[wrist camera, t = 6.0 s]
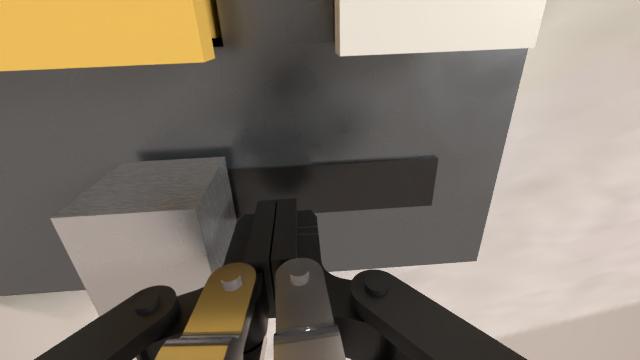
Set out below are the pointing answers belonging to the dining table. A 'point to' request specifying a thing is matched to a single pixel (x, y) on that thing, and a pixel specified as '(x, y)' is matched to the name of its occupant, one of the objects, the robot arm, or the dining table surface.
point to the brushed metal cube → (149, 228)
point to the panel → (269, 139)
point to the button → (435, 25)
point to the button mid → (105, 33)
